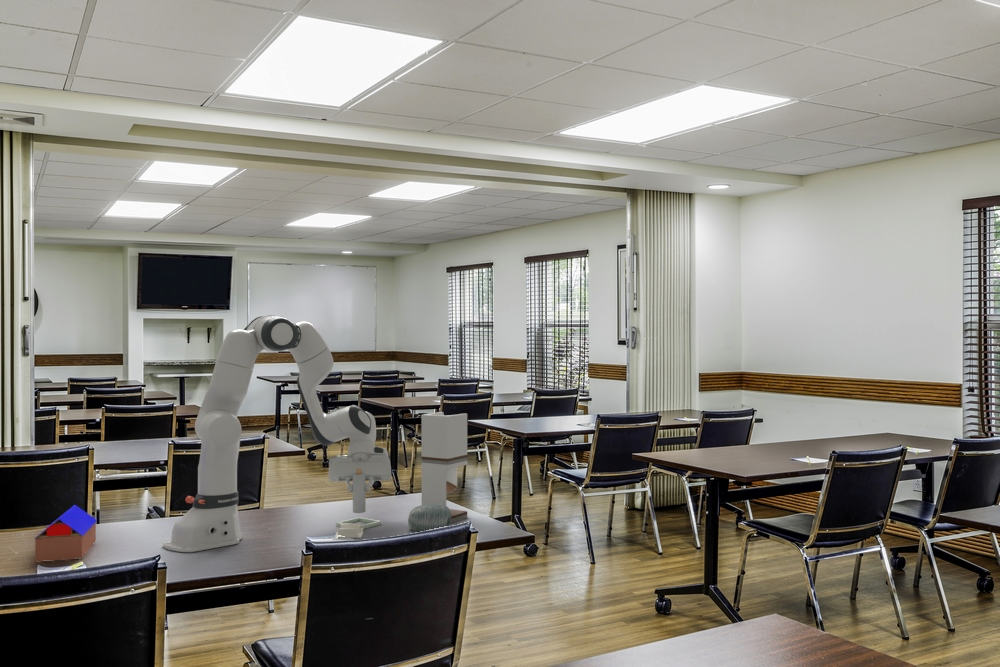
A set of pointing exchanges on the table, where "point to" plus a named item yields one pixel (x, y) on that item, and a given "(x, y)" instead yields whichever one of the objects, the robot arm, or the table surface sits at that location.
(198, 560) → the table surface
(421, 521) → the grey furry rounded block
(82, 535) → the house
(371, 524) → the tray
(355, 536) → the white toy chair
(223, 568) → the table surface
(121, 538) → the table surface
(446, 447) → the notched white block
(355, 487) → the gray bottle
